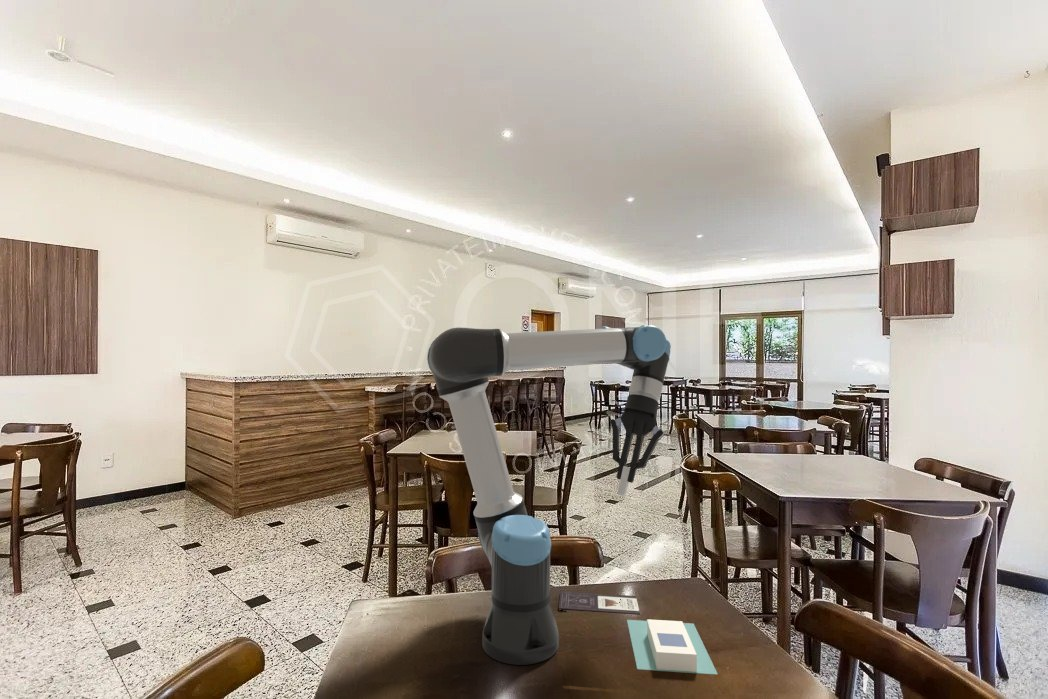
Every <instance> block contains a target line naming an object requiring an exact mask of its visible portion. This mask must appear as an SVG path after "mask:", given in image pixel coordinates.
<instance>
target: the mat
mask: <svg viewBox="0 0 1048 699" xmlns="http://www.w3.org/2000/svg"><path fill="white" fill-rule="evenodd" d="M626 622H627V628H628V632H629V636H630V641H631V646H632V651H633V655H634V659H635V664H636V669H637V670H639V671H640V670H642V671H644V670H645V671H658V672H671V673H672V672H673V673H686V674H687V673H689V674H701V675H715V676H716V675H719V674H718V671H717V670H716V668H715V666H714V663H713V661H712V659H711V657H710V654H709V653H708V651H707V649H706V647H705V645H704V643H703V640H702V639H701V636H700V634H699V632H698V630H697V628H696V626H695V623H693V622H692V623H689V622H687V623H686V622H683V624H684V626H685V629H686V631H687V633H688V636H689V638H690V640H691V642H692V645H693V647H694V649H695V652H696V654H697V672H691V671H676V670H661V669H657V668H656V664H655V661H654V657H653V654H652V650H651V646H650V643H649V639H648V636H647V620H638V619H626Z"/></svg>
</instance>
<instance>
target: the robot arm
mask: <svg viewBox="0 0 1048 699" xmlns="http://www.w3.org/2000/svg"><path fill="white" fill-rule="evenodd" d="M671 346H672V344H671V343H670V341H669V340H668V339H667V337H666V335H665V333H664V331H663V330H662V329H661V328H659V327H657V326H656V325H650V324H649V325H646V324H645V325H640V326H634V327H633V326H632V327H615V328H613V327H608V326H605V325H603V326H601V327H599V328H593V329H592V328H591V329H589V328H587V329H569V330H568V329H567V330H566V329H565V330H549V331H547V330H546V331H545V330H544V331H529V332H509V333H508V332H504V331H503V330H502V329H501V328H472V327H453V328H449V329H447V330H445V331H443V332H442V333H440V334H439V335H438V336H437V337H435V339H434V340H433V341H432V342H431V344H430V346H429V348H428V351H427V358H426V359H427V364H428V365H427V366H428V368H429V370H430V372H431V374H432V376H433V379H434V383H435V386H436V390H437V394H438V397H439V398H440V399H442V400H444V401H445V402H447V403H448V406H449V409H450V410H449V411H450V413H451V416H452V419H453V423H454V427H455V430H456V434H457V437H458V441H459V443H460V447H461V451H462V454H463V458H464V461H465V466H466V468H467V472H468V475H469V479H470V482H471V485H472V489H473V493H474V496H475V499H476V502H477V503H476V506H475V508H474V510H473V516H474V520H475V523H476V527H477V533H478V534H477V536H478V541H479V543H480V546H481V548H482V550H483V551H484V553H485V555H486V557H487V559H488V561H489V564H490V566H491V604H490V608H489V609H488V613H487V617H486V620H485V623H484V626H483V630H482V632H481V633H482V638H481V639H482V640H481V641H482V643H481V644H482V645H481V646H482V649H483V651H484V652H485V653H486V655H488V656H489V657H490V658H492V659H493V660H496V661H497V662H500V663H504V664H507V665H515V666H524V665H525V666H527V665H533V664H539V663H542V662H544V661H547V660H548V659H550V658H552V657H553V656H554V655H555V654H556V653H557V652H558V649H559V645H560V642H559V641H560V636H559V634H560V633H559V632H560V631H559V628H558V626H557V625H558V624H557V621H556V619H555V616H554V612H553V609H552V605H551V550H552V539H551V533H550V528H549V527H548V525H547V523H546V522H544V521H543V520H541V519H540V518H537V517H533V516H532V515H528V512H527V508H526V505H525V502H524V498H523V496H522V495H521V494H519V493H517V492H516V491H515V490H514V487H513V483H512V481H511V478H510V474H509V470H508V467H507V463H506V459H505V457H504V453H503V450H502V446H501V442H500V439H499V438H500V437H499V436H498V432H497V428H496V424H495V422H494V417H493V415H492V412H491V407H490V404H489V401H488V398H487V393H486V389H487V387H488V385H489V383H490V380H489V378H490V377H499V376H500V377H501V376H504V375H505V374H506V373H507V371H516V370H517V371H518V370H530V369H531V370H532V369H533V370H534V369H545V368H559V367H561V368H562V367H573V366H576V367H577V366H588V365H589V366H590V365H603V364H605V365H606V364H617V365H620V366H623V367H625V368H627V369H631V370H633V374H632V377H631V382H630V386H629V390H628V393H629V395H628V396H627V398H626V401H625V402H626V403H625V406H624V410H623V412H622V414H620V417H619V418H616V419H614V418H612V419H610V421H609V423H610V425H611V428H612V460H613V461H614V462H615V463H617V464H618V467H617V474H616V479H617V480H618V481H619V483H618V488H617V493H616V494H617V495H619V496H622V497H626V495H627V493H628V492H627V491H628V486H629V484H630V483H631V484H633V482H634V481H635V477H636V473H637V470H638V469H642V470H643V469H645V468H646V467H647V465H648V463H649V460H650V458H651V456H652V454H653V452H654V450H655V448H656V446H657V444H658V442H659V441H660V440H661V439H662V438H663V437H664V435H665V433H664V431H663V430H662V429H660V428H659V427H658V426H657V420H656V419H657V413H658V410H659V404H660V403H659V401H660V399H661V395H662V391H663V387H664V386H663V385H664V382H665V377H666V373H667V368H668V364H669V362H670V355H671V348H672V347H671ZM622 425H623V428H624V430H625V431H626V433H625V438H624V442H623V445H622V451H621V453H620V428H621V426H622ZM651 432H652V437H651V438H650V441H648V445H647V446H646V449H645V450H644V452H643V454H642V457H641V459H640V456H641V452H642V447H643V443H644V440H645V437H647V435H649V434H650V433H651ZM634 436H636V438H635V444H634V447H633V452H632V456H631V460H630V464H629V466H627V465H628V458H629V454H630V450H631V445H632V441H633V438H634Z"/></svg>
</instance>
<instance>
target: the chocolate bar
mask: <svg viewBox="0 0 1048 699" xmlns="http://www.w3.org/2000/svg"><path fill="white" fill-rule="evenodd" d="M620 599H621V600H620ZM558 602H559V603H558V610H559V609H561V610H568V611H570V610H571V611H581V612H583V611H584V612H585V611H586V612H595V613H597V612H599V613H612V614H628V615H640V608H639V604H638V600H637V596H636V595H623V594H612V593H611V594H609V593H597V594H594V592H581V591H579V592H577V591H565V590H564V591H563V590H560V594H559V601H558ZM619 602H620V603H619Z"/></svg>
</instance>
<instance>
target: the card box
mask: <svg viewBox="0 0 1048 699" xmlns="http://www.w3.org/2000/svg"><path fill="white" fill-rule="evenodd" d="M646 621H647V636H648V639H649V643H650V646H651V650H652V654H653V657H654V661H655V664H656V668H657V669H661V670H676V671H691V672H697V654H696V652H695V649H694V647H693V645H692V642H691V640H690V638H689V636H688V633H687V631H686V629H685V626H684V624H683V623H684V621H681V620H665V619H648V618H647V619H646Z"/></svg>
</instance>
